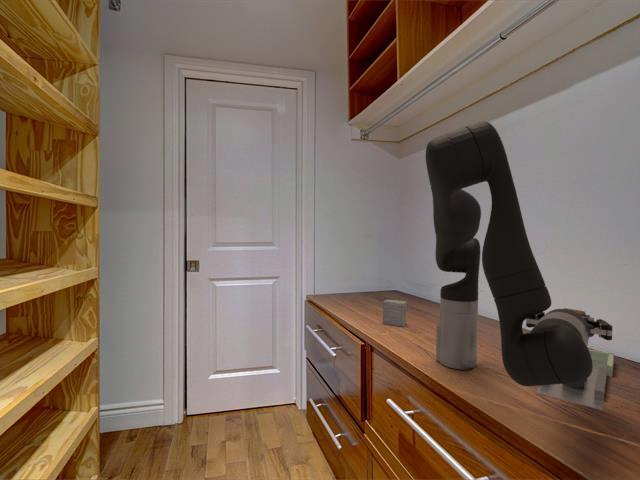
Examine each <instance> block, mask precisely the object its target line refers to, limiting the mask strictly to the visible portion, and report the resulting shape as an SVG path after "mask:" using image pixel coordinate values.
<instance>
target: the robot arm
mask: <svg viewBox="0 0 640 480" xmlns="http://www.w3.org/2000/svg"><path fill="white" fill-rule="evenodd" d="M508 159H509V158H508V156H507V151H506V149H505V146H504V142H503V141H502V139H501V136H500V135H499V133H498V131H497V129H496V128H495V126H494V125H493V124H491V123H490V122H488V121H478V122H474V123H471V124H468V125H465V126H462V127H460V128H458V129H454V130H452V131H449V132H446V133H444V134H440V135H439V136H436V137H434V138H433V139H431V140H430V141H429V142H428V143H427V145H426V147H425V165H426V170H427V175H428V181H429V184H430V185H429V186H430V190H431V196H432V207H433V209H432V210H433V213H432V214H433V215H432V216H433V227H434V232H435V233H434V234H435V239H436V240H435V262H436V265H437V268H438V269H439V270H440V271H442V272H445V273H460V274H461V273H463V274H465V275H464V277H463V278H461V279H460V280H458V281H456V282H453V283H449V284H448V283H447V284H444V285H443V286H441V288H440V293H439V294H440V295H439V296H440V302H439V303H440V304H439V305H440V307H439V308H440V309H439V324H437V325H436V331H435V332H436V336H435V337H436V339H435V361H438V362H439V363H440V364H441V365H442V366H445V367H447V368H450V369H455V370H461V371H462V370H467V371H469V370H473V369H475V367H477V366H478V365H477V363H478V362H477V361H478V357H477V356H478V329H479V328H478V327H479V326H478V325H479V324H478V323H479V321H478V319H479V318H478V317H479V275H480V263H482V269H483V273H484V276H485V279H486V281H487V284H488V287H489V289H490V292H491V295H492V297H493V300H494V303H495V306H496V310H497V314H498V322H499V330H500V342H501V344H500V346H501V357H502V358H501V359H502V364H503V366H504V367H503V368H504V369H505V371H506V373H507V374H508V375H509V377H510V378H511V379H512V380H513V381H514V382H515V383H516V384H518V385H520V386H522V387H538V386H539V387H540V386H541V385H553V384H564V383H565V384H567V383H576V382H581V381H583V380H585V379H587V378H588V377H589V376H590V375H591V373H592V369H593V363H592V358H591V355H590V352H589V350H588V349H589V348H588V345H589V339H590V338H592V337H594V336H595V335H598V337H599V338H602V339H603V340H605V341H612V340H613V325H611V324H610V323H608V322H607V321H605V320H603V319H602V318H601V319H600V318H598V319H596V321H595V318H594V317H591V315H590V314H586V316H585V317H583V316H580V315H579V314H577V313H576V312H574V311H571V310H567V309H568V308H567V309H564V308H556V309H552V310H550V311H548V312H547V313H546V312H545V311H547V310H548V309H550V307H551V306H552V298H551V295H550V292H549V290H548V287H547V286H546V283H545V280H544V277H543V275H542V272H541V270H540V268H539V266H538V263H537V260H536V258H535V256H534V253H533V251H532V247H531V245H530V242H529V239H528V235H527V231H526V228H525V223H524V219H523V214H522V211H521V206H520V203H519V198H518V193H517V189H516V185H515V181H514V178H513V175H512V170H511V168H510V164H509V160H508ZM484 182H487V184H488V187H489V191H490V197H491V208H490V209H491V210H490V214H489V215H490V216H489V221H488V225H487V229H486V233H485V237H484V241H483V245H482V252H481V244H480V241H479V239H478V238H476V235H477V233H478V231H479V229H480V224H481V219H482V218H481V217H482V209H481V205H480V203H479V201H478V200H477V198H475V197H474V196H473V195H472V194H471V193H469V192H468V191H466V190H464V189H465V188H469V187H471V186H475V185H478V184H480V183H484ZM524 321H525V327H527V328H532V329H531V330H530V332H525V333H524V331H523V325H524Z"/></svg>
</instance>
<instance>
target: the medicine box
mask: <svg viewBox="0 0 640 480" xmlns="http://www.w3.org/2000/svg"><path fill="white" fill-rule="evenodd" d="M407 318H408V317H407V301H404V300H403V301H401V300H395V299H386V300H384V301H382V324H383V325H389V326H396V327H402V328H403V327H405V326H406V325H407V323H408V322H407Z"/></svg>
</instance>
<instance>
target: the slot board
mask: <svg viewBox="0 0 640 480" xmlns="http://www.w3.org/2000/svg"><path fill="white" fill-rule="evenodd" d="M592 363H593V369H592V373H591V375H590V376H589V377H588V378H587V380H585V381H584V388H583V389H575V388H571V387H568V386H565V385H564V384H553V385H541V386H539V387H538V388H537V390H536V393H537V394H539V395H543V396H547V397H551V398H555V399H559V400H562V401H566V402H570V403H574V404H577V405H582V406H585V407H588V408H592V409H595V410H600V411H603V406H604V398H605V391H606V383H607V379H608V378H607V377H608V376H607V363H605V362H600V361H595V360H592Z"/></svg>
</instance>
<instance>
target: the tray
mask: <svg viewBox="0 0 640 480" xmlns="http://www.w3.org/2000/svg"><path fill="white" fill-rule="evenodd" d="M588 350H589V352H590V355H591V358H592V360H595V361H600V362H605V363H607V377H610V378H611V377H613V373H614V361H615V360H614V359H615V358H614V357H615V355H614V354H615V353H613V352H608V351H607V352H606V351H600V350H595V349H589V348H588Z"/></svg>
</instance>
